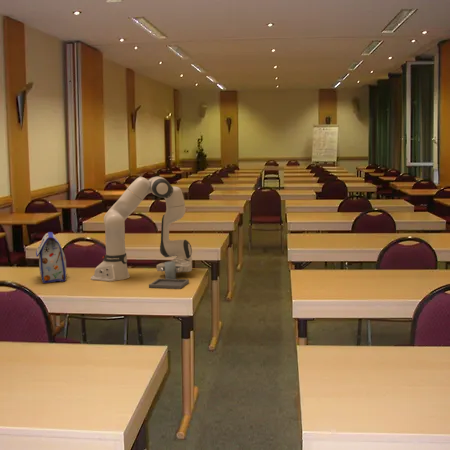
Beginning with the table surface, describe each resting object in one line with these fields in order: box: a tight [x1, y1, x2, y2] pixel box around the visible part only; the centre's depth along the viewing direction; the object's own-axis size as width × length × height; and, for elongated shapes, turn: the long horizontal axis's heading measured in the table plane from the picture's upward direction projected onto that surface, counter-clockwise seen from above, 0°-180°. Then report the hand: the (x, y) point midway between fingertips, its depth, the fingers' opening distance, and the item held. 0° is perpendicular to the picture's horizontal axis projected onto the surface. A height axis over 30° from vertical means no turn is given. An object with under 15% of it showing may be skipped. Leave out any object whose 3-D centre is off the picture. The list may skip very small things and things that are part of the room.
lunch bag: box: [35, 231, 67, 284], centre depth 375 cm, size 23×17×27 cm
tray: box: [148, 278, 190, 290], centre depth 351 cm, size 18×14×2 cm
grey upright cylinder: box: [164, 260, 177, 279], centre depth 364 cm, size 6×6×10 cm
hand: (169, 270), depth 363 cm, fingers open, 8 cm apart
